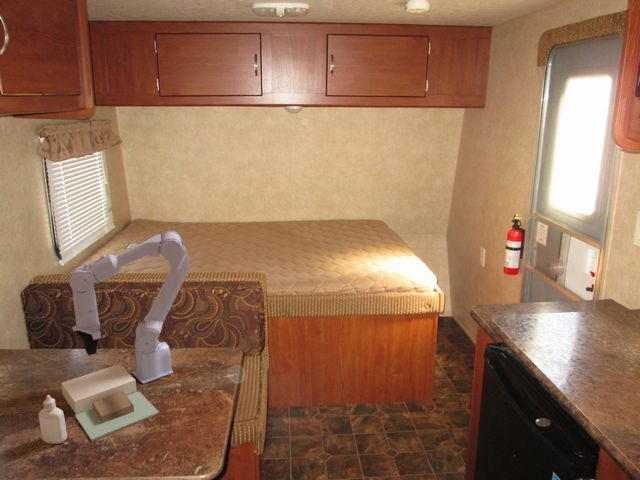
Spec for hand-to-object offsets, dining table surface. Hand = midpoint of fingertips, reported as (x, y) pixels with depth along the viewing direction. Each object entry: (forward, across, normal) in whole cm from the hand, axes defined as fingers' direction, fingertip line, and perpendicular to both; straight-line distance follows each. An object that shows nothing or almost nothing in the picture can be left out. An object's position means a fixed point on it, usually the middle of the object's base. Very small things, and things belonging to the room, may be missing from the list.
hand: (91, 353), depth 144 cm
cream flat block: (+9, +7, -1) cm, 12 cm away
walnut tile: (+9, +18, -1) cm, 20 cm away
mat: (+9, +20, -1) cm, 22 cm away
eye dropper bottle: (+10, +20, -16) cm, 27 cm away
